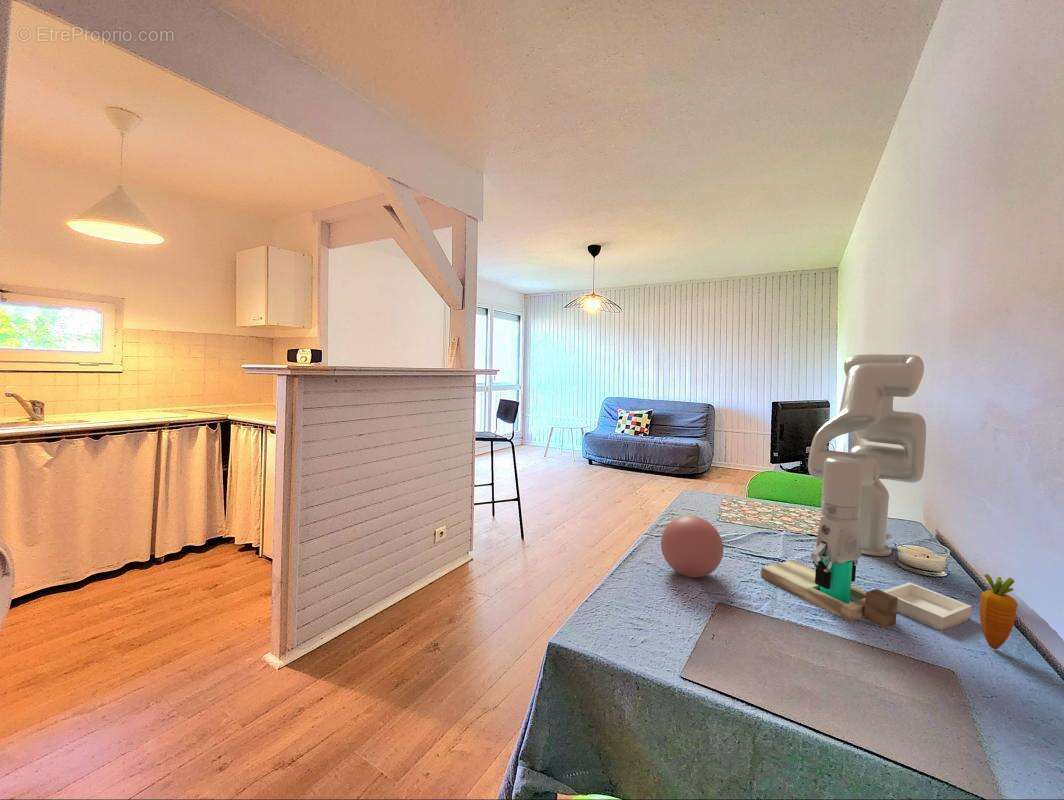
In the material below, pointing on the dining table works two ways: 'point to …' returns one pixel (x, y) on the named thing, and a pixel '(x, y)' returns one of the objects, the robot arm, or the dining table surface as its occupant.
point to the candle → (839, 581)
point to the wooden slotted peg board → (813, 589)
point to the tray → (929, 606)
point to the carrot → (997, 611)
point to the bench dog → (880, 608)
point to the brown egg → (692, 546)
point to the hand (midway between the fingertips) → (835, 582)
